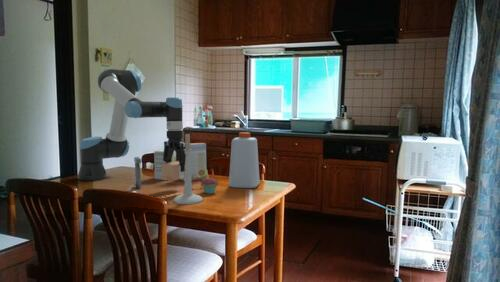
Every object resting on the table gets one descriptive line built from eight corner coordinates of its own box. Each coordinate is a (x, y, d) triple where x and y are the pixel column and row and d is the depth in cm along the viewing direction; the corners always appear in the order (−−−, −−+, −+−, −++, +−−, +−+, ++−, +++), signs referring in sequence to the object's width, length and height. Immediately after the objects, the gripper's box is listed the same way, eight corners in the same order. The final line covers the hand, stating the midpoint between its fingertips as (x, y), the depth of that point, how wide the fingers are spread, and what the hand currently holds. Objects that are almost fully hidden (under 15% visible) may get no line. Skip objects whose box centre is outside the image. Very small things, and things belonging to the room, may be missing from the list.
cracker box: (203, 178, 214) (203, 142, 212) (206, 180, 208) (206, 143, 206) (179, 180, 208) (179, 143, 206) (182, 182, 202) (181, 144, 200)
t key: (136, 190, 177) (136, 159, 176) (134, 186, 186) (133, 156, 185) (142, 190, 178) (141, 159, 177) (139, 186, 187) (138, 156, 186)
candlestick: (200, 196, 172) (199, 132, 170) (204, 203, 160) (204, 134, 157) (172, 198, 169) (171, 132, 166) (174, 205, 157) (173, 134, 154)
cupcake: (210, 195, 174) (210, 170, 173) (196, 192, 179) (196, 168, 178) (221, 191, 182) (221, 167, 180) (207, 189, 186) (207, 165, 185)
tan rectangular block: (158, 178, 176) (158, 163, 175) (178, 175, 185) (178, 161, 184) (169, 180, 171) (169, 165, 170) (188, 177, 180) (188, 162, 179)
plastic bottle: (233, 181, 205) (233, 131, 202) (260, 183, 202) (261, 131, 199) (227, 187, 190) (227, 133, 187) (256, 189, 187) (256, 134, 185)
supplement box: (169, 182, 204) (169, 151, 202) (154, 181, 205) (153, 151, 204) (176, 178, 213) (176, 149, 211) (161, 177, 215) (161, 149, 213)
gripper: (154, 129, 180) (155, 175, 182) (183, 131, 167) (183, 181, 169) (167, 128, 186) (167, 173, 188) (195, 130, 173) (196, 178, 175)
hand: (175, 177), depth 178 cm, fingers closed on tan rectangular block, 8 cm apart
